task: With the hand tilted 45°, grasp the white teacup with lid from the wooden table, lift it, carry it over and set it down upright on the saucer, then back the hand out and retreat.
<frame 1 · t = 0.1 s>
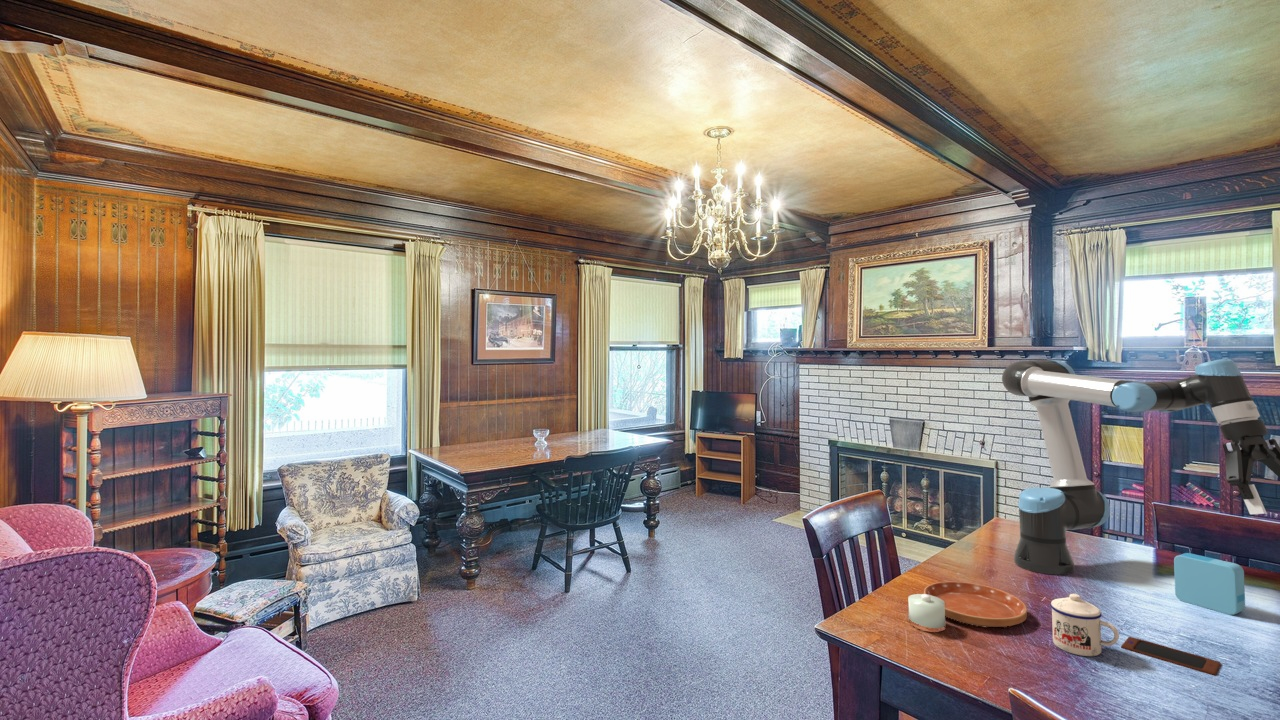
hand: (1279, 511, 131), 28 cm above the table, tool tilted 20°, fingers open, 13 cm apart
saucer: (973, 613, 146), on the table
teacup with lid: (1084, 650, 126), on the table
sugar bowl: (927, 625, 139), on the table
smartphone: (1169, 658, 122), on the table
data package: (1209, 607, 145), on the table
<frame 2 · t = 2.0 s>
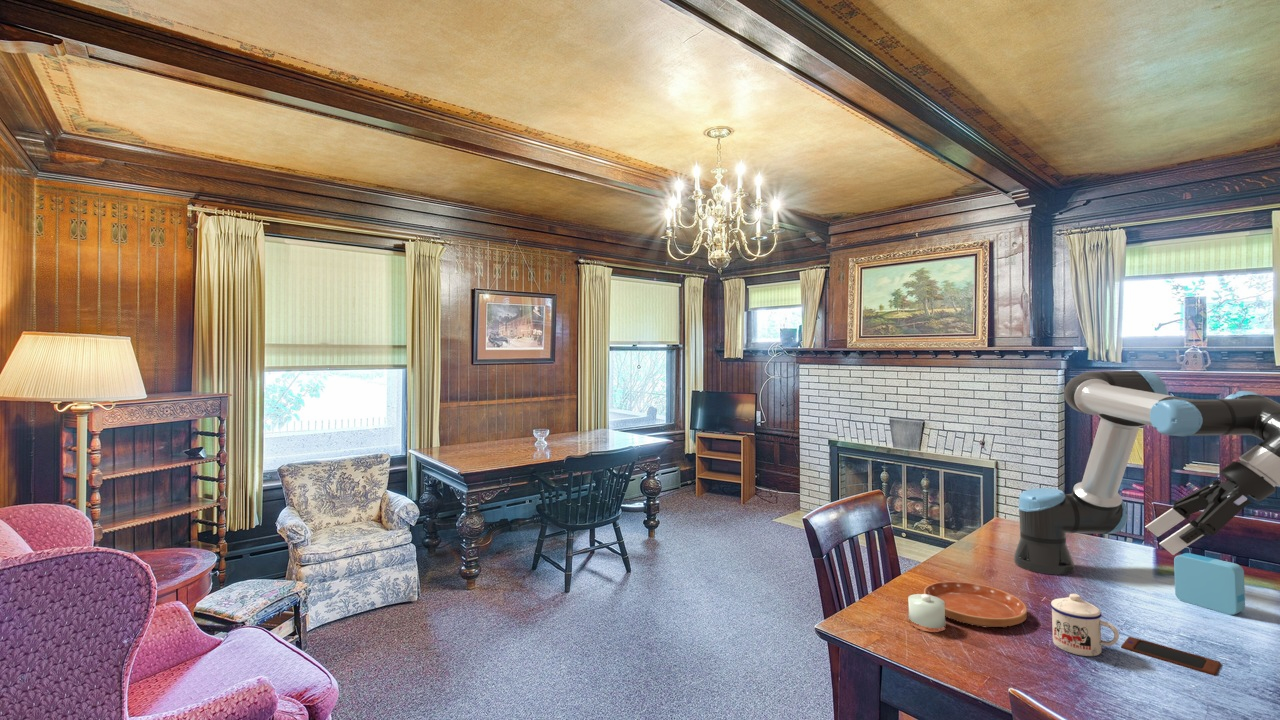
hand: (1158, 540, 119), 26 cm above the table, tool tilted 45°, fingers open, 13 cm apart
nothing on the table moved.
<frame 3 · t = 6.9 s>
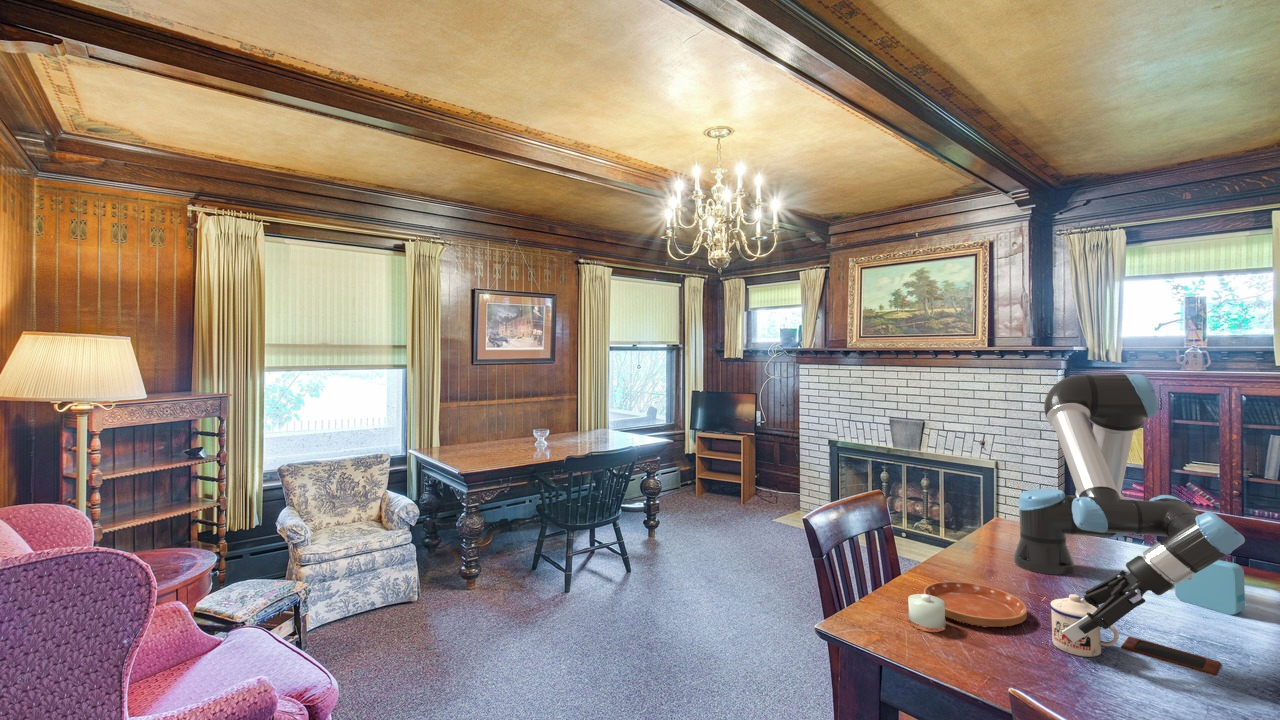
hand: (1065, 627, 127), 4 cm above the table, tool tilted 45°, fingers closed on teacup with lid, 9 cm apart
teacup with lid: (1084, 651, 125), on the table, touching gripper
everything else where it was.
when the fingers open (10 cm above the table, at t = 12.8 s): teacup with lid drops 2 cm, resting on saucer.
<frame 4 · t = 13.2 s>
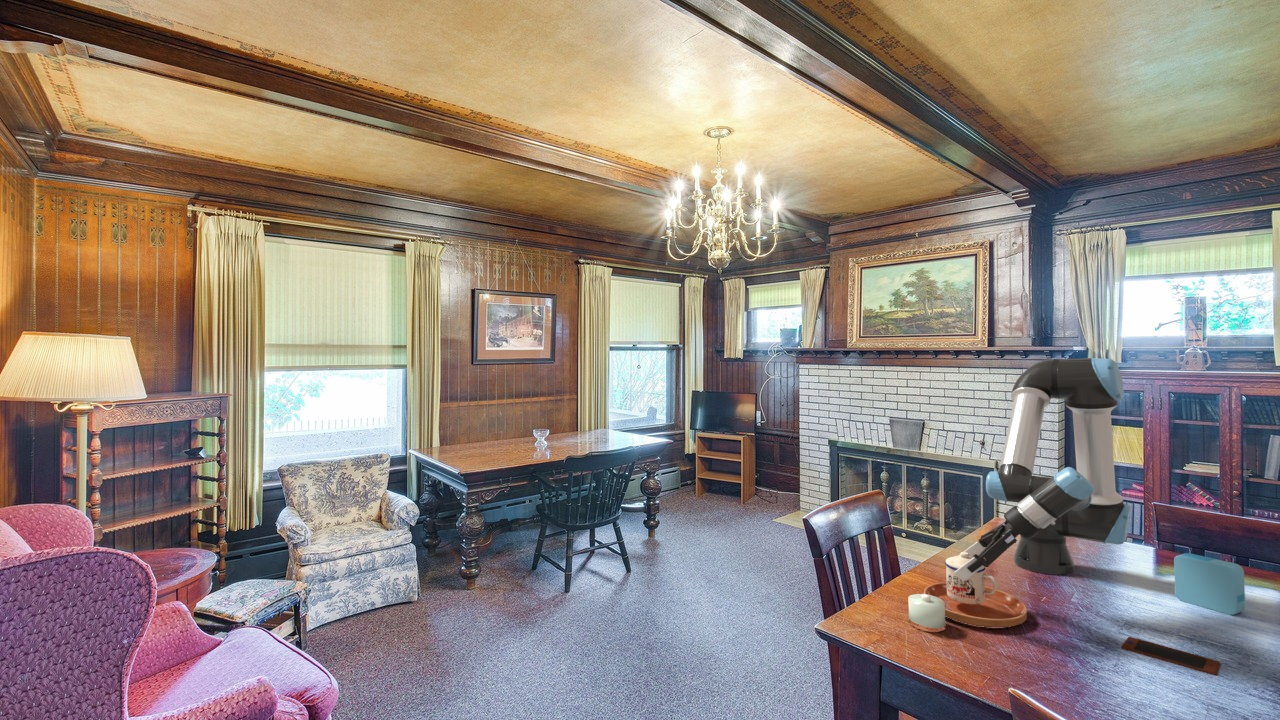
hand: (960, 568, 147), 11 cm above the table, tool tilted 45°, fingers open, 13 cm apart
saucer: (973, 613, 146), on the table, touching teacup with lid
teacup with lid: (972, 600, 145), point 3 cm above the table, touching saucer
everything else where it was.
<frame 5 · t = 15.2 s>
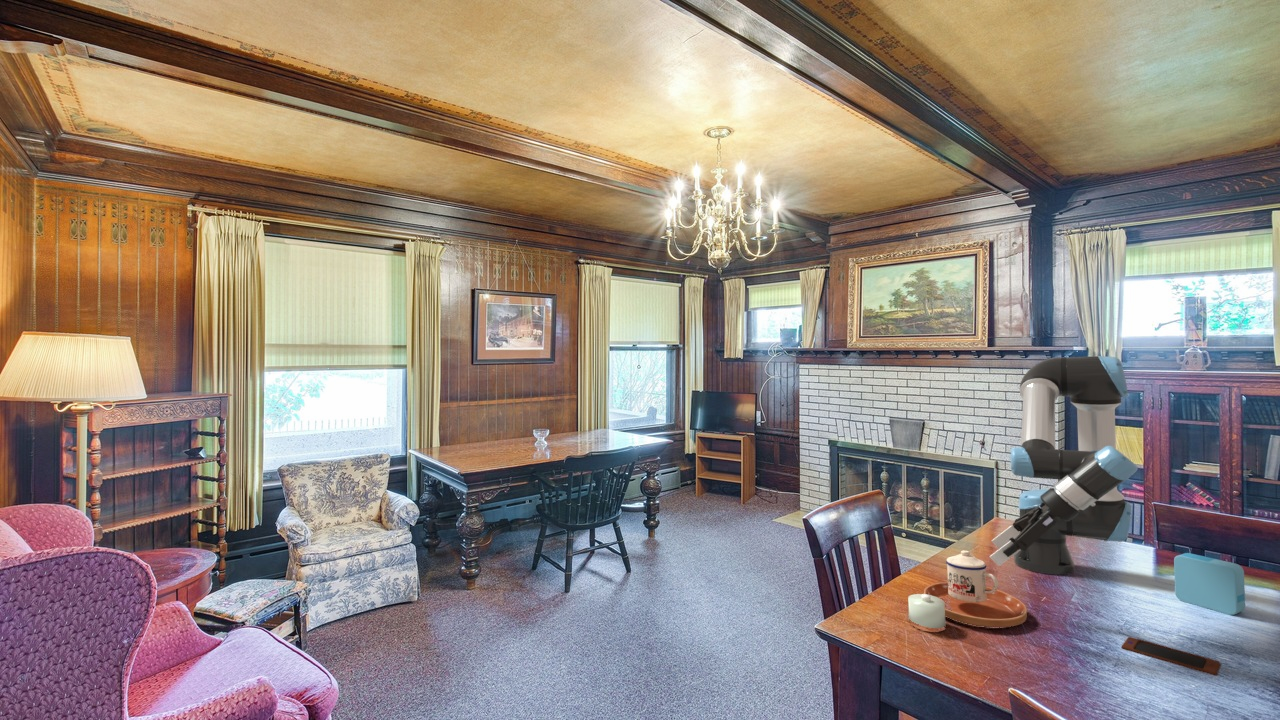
hand: (995, 552, 142), 16 cm above the table, tool tilted 45°, fingers open, 13 cm apart
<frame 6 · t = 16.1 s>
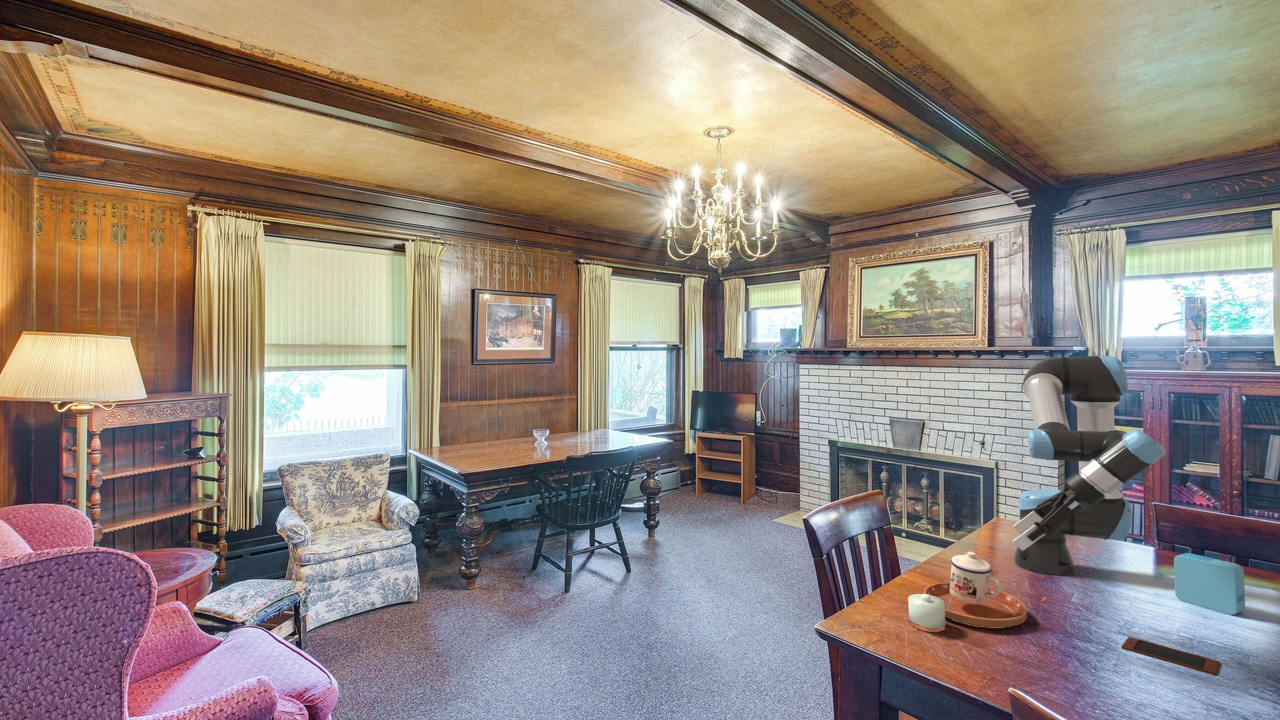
hand: (1017, 538, 141), 20 cm above the table, tool tilted 45°, fingers open, 13 cm apart
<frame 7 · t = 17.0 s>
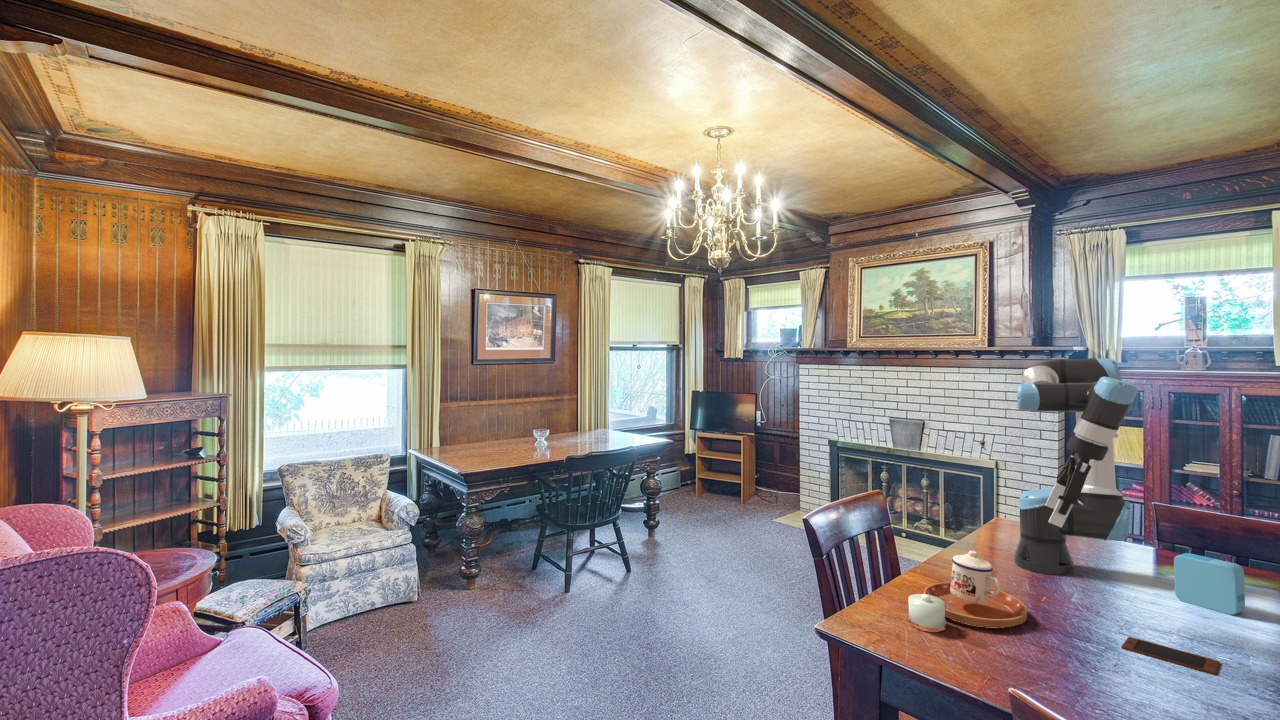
hand: (1052, 515, 142), 25 cm above the table, tool tilted 20°, fingers open, 13 cm apart
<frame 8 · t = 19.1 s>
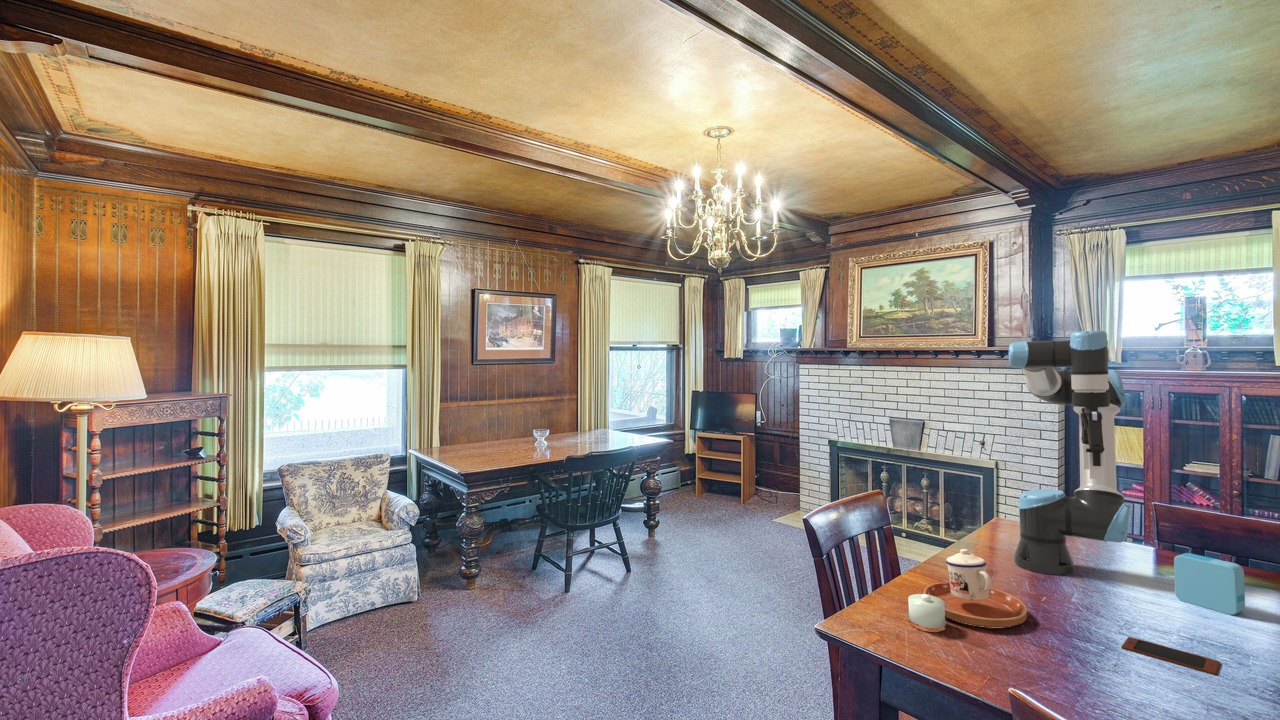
hand: (1093, 474, 145), 35 cm above the table, tool pointing down, fingers open, 13 cm apart
at the end: teacup with lid 1.1 cm from the saucer (horizontally); teacup with lid tilted 7°; the gripper is holding nothing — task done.
